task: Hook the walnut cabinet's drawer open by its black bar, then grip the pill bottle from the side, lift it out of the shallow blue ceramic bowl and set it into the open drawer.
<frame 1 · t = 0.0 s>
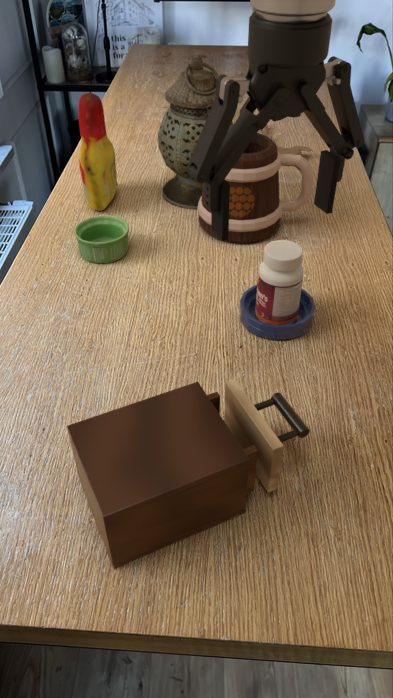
hand: (272, 221, 67), 20 cm above the table, tool pointing down, fingers open, 13 cm apart
ramekin: (104, 252, 100), on the table
mug: (252, 224, 106), on the table
jawbone: (283, 144, 132), on the table
pill bottle: (276, 316, 86), resting on bowl
bottle: (101, 201, 113), on the table
drawer: (220, 446, 63), point 5 cm above the table, slide at 3.0 cm
cabinet: (160, 495, 63), on the table
lantern: (197, 194, 115), on the table
bowl: (276, 317, 86), on the table
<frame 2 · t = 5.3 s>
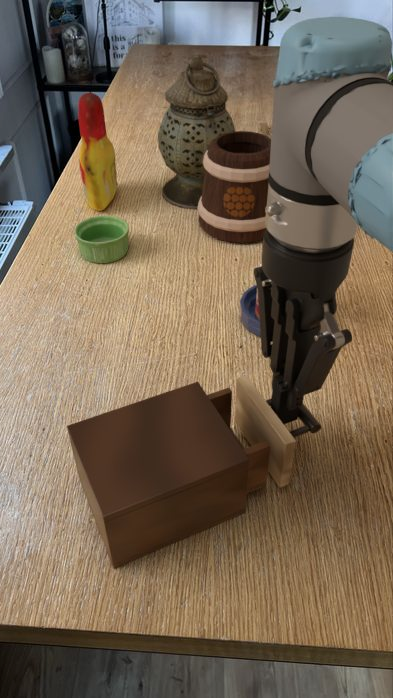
hand: (283, 418, 65), 5 cm above the table, tool pointing down, fingers closed
drawer: (232, 441, 63), point 5 cm above the table, slide at 4.5 cm, touching gripper
everything else where it was.
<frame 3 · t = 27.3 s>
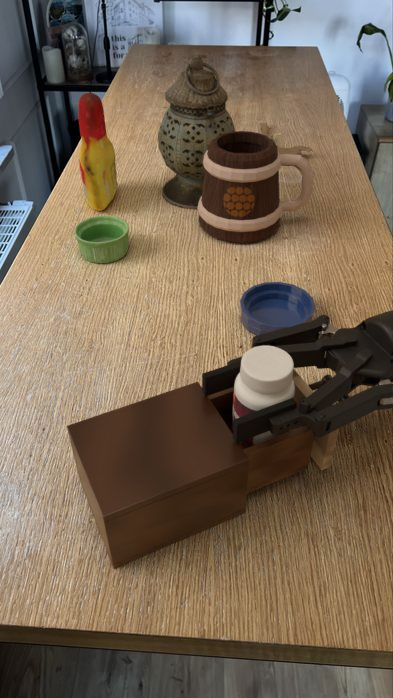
hand: (219, 407, 58), 11 cm above the table, tool horizontal, fingers closed on pill bottle, 6 cm apart
pill bottle: (259, 438, 65), point 3 cm above the table, touching gripper
drawer: (275, 425, 65), point 5 cm above the table, slide at 9.8 cm
everything else where it was.
when the fingers open (12 cm above the table, at t = 36.7 s): pill bottle drops 3 cm, resting on drawer.
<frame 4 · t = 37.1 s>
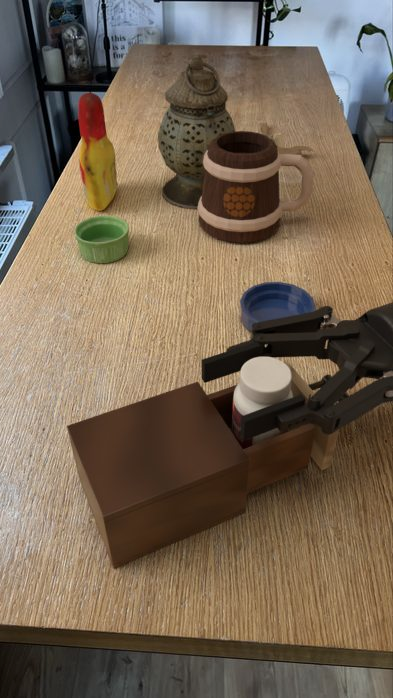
hand: (222, 398, 58), 12 cm above the table, tool horizontal, fingers open, 8 cm apart
pill bottle: (258, 446, 66), point 2 cm above the table, touching drawer
drawer: (275, 425, 65), point 5 cm above the table, slide at 9.8 cm, touching pill bottle
everything else where it was.
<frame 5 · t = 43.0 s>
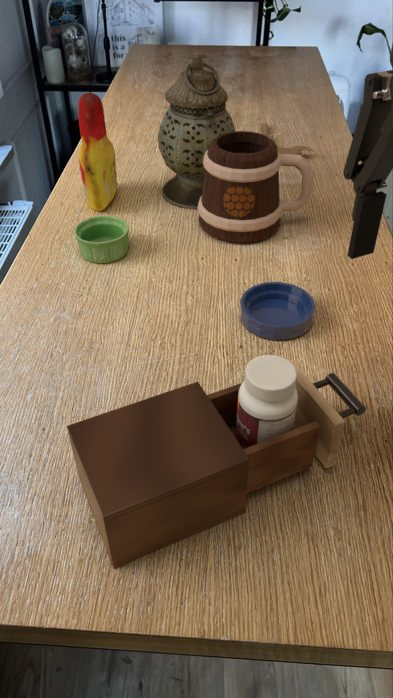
hand: (387, 275, 57), 21 cm above the table, tool pointing down, fingers open, 8 cm apart
drawer: (280, 423, 65), point 5 cm above the table, slide at 10.3 cm, touching pill bottle
everything else where it was.
at the end: drawer slide at 10.3 cm; pill bottle inside the target area in the drawer (0.6 cm from its centre), point 1.8 cm above the cabinet's base; the gripper is holding nothing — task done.
